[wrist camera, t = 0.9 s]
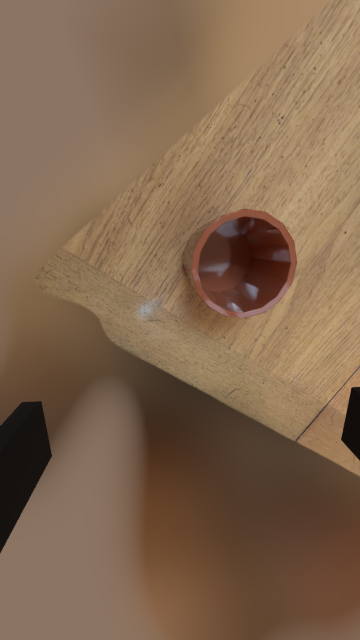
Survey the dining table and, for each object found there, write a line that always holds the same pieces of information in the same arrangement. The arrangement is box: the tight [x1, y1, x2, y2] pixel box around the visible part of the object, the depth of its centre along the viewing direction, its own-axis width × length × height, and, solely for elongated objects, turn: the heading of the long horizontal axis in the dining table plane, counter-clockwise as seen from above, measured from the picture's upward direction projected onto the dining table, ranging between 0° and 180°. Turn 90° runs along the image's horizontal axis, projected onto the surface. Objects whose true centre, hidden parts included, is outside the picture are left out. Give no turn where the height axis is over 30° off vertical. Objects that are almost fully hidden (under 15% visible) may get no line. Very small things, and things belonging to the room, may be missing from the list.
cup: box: [183, 209, 297, 318], centre depth 24 cm, size 8×8×10 cm
